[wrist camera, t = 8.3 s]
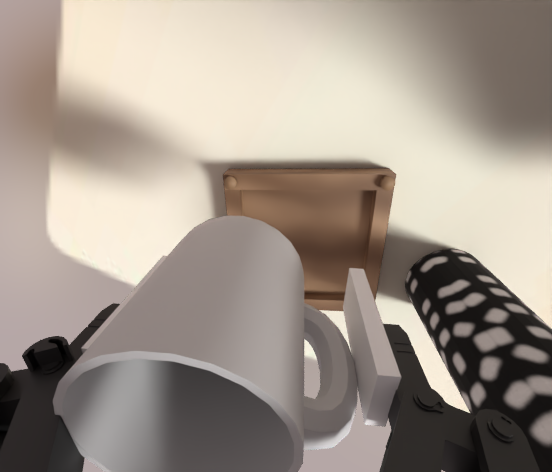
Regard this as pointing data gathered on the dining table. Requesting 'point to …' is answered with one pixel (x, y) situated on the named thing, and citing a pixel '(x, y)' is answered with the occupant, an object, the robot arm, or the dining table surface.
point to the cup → (212, 364)
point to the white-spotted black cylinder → (488, 343)
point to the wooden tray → (320, 220)
